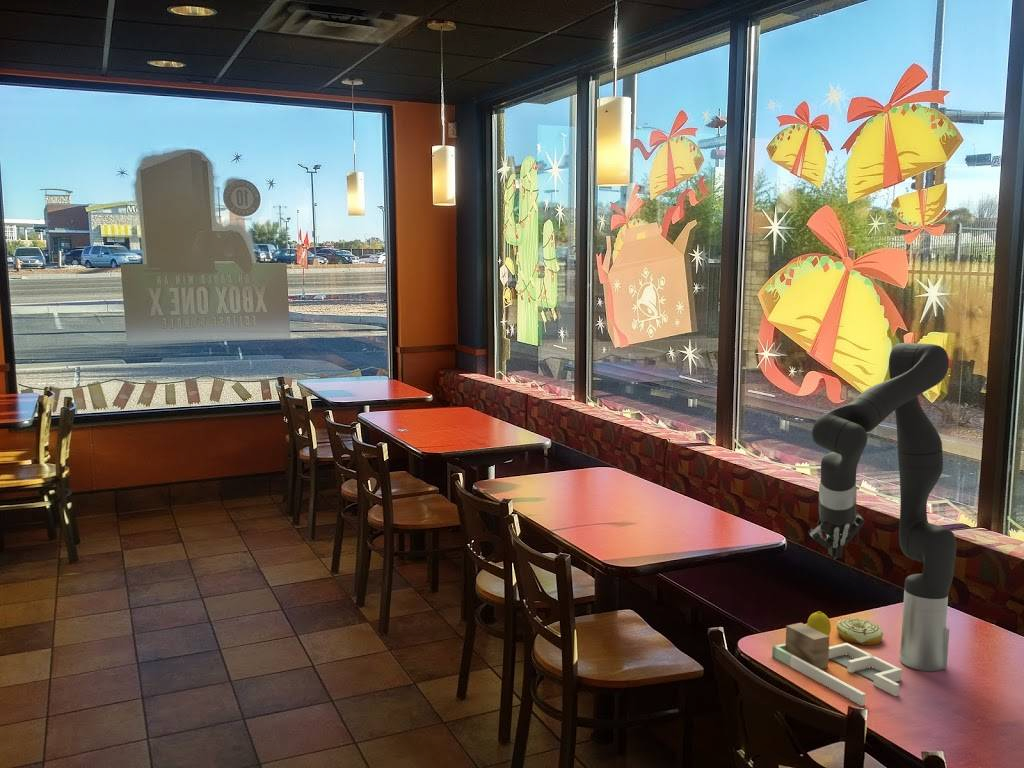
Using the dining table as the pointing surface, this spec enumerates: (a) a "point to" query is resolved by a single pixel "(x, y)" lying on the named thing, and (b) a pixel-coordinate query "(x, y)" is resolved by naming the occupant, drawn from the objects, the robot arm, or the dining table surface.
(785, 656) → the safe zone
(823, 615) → the lemon
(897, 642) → the dining table surface
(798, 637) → the block
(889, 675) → the box
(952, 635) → the dining table surface
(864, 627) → the decorated donut
